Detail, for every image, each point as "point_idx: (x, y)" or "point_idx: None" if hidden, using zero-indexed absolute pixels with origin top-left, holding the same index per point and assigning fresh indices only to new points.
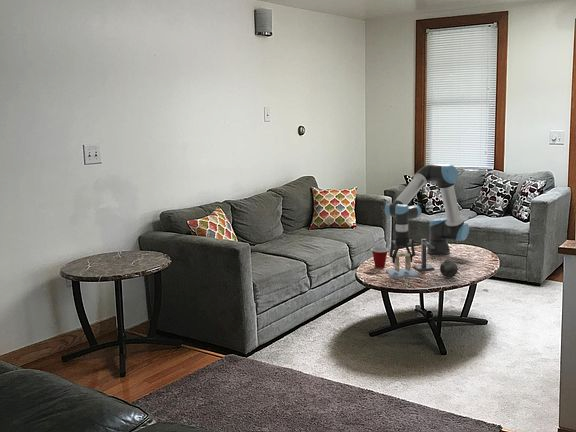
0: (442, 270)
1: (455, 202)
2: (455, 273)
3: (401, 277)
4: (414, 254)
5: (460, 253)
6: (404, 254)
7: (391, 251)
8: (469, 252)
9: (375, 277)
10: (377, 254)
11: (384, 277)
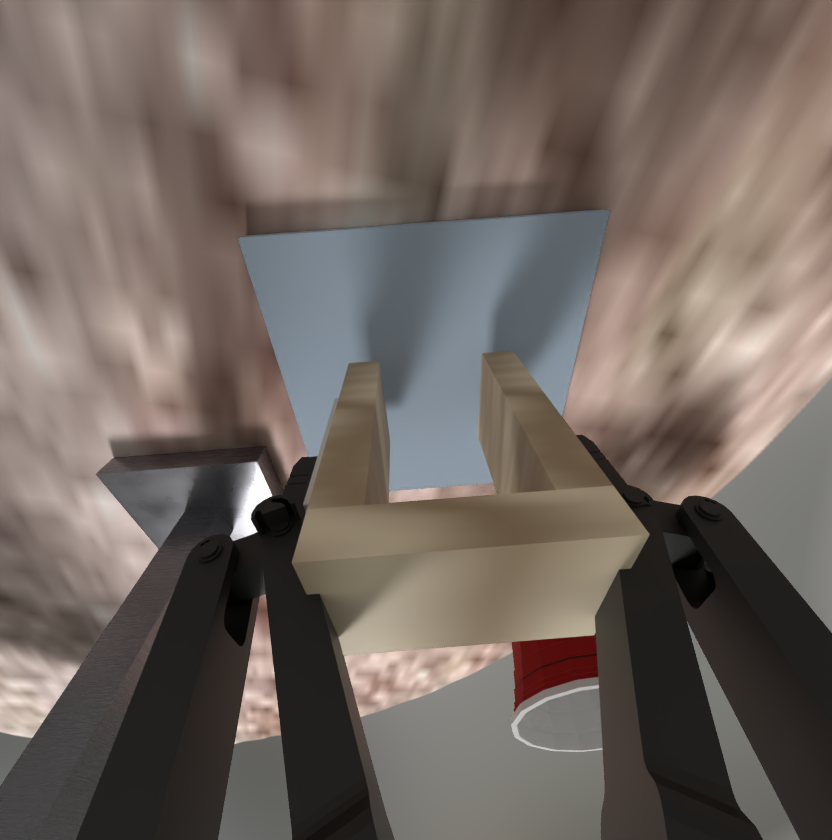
0: None
1: None
2: None
3: (484, 218)
4: (201, 565)
5: (47, 692)
6: (440, 537)
7: (813, 632)
8: (3, 700)
9: (746, 298)
10: None
11: (659, 281)
